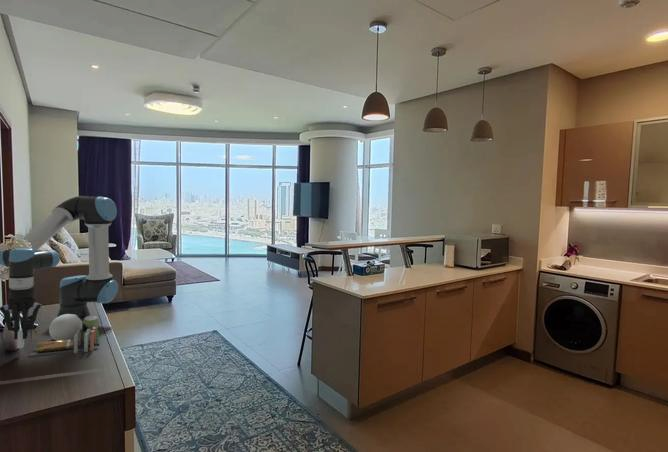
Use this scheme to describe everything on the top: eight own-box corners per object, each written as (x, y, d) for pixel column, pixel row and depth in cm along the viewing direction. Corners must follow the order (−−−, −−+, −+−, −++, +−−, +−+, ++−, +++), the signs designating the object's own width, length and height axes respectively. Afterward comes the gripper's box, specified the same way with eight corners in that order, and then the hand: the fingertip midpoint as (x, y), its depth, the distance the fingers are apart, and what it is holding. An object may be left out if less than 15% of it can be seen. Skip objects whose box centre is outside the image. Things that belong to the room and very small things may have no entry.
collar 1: (77, 345, 159) (77, 328, 159) (81, 345, 160) (81, 328, 160) (73, 353, 151) (74, 335, 151) (77, 352, 152) (77, 335, 152)
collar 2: (87, 344, 161) (87, 328, 161) (90, 344, 162) (90, 327, 161) (84, 352, 153) (84, 334, 153) (87, 351, 153) (87, 334, 153)
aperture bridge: (93, 344, 161) (93, 326, 161) (95, 344, 162) (96, 326, 162) (90, 351, 154) (90, 332, 154) (93, 350, 155) (93, 332, 154)
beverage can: (96, 339, 170) (97, 313, 170) (100, 343, 165) (101, 317, 164) (80, 342, 166) (80, 315, 165) (84, 347, 161) (84, 319, 160)
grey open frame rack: (34, 352, 153) (34, 348, 153) (99, 345, 163) (100, 341, 163) (27, 360, 145) (27, 356, 145) (97, 353, 155) (97, 348, 155)
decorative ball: (86, 340, 168) (87, 314, 167) (54, 348, 158) (55, 320, 157) (76, 334, 175) (76, 309, 174) (44, 341, 165) (45, 314, 164)
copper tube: (35, 353, 148) (36, 342, 149) (38, 353, 151) (39, 342, 153) (72, 349, 153) (73, 338, 154) (74, 349, 157) (74, 339, 158)
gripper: (-4, 290, 140) (-5, 352, 141) (39, 288, 146) (38, 348, 147) (3, 286, 147) (2, 345, 148) (44, 285, 152) (43, 341, 153)
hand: (20, 346), depth 147 cm, fingers closed
